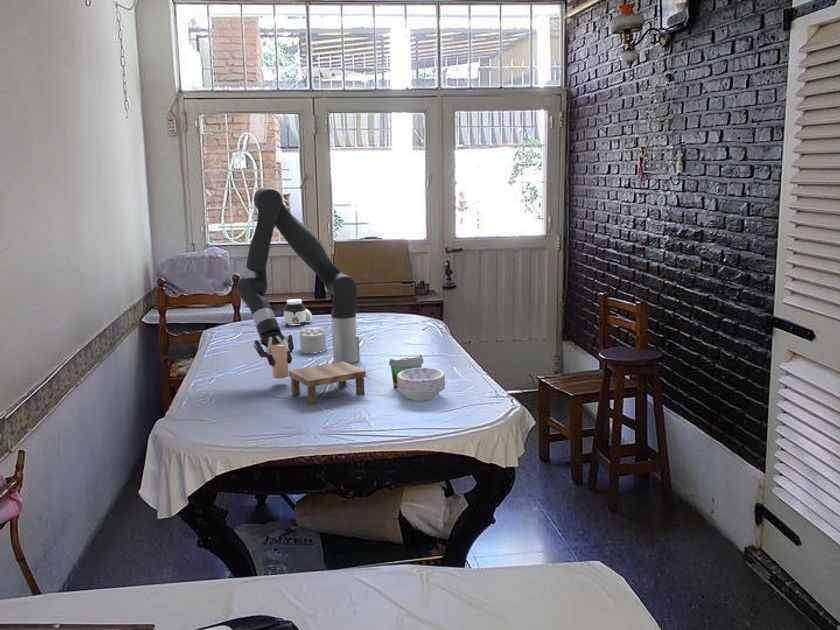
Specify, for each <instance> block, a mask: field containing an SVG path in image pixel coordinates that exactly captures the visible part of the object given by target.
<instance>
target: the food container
mask: <svg viewBox="0 0 840 630" xmlns="http://www.w3.org/2000/svg"><path fill="white" fill-rule="evenodd" d="M424 363H425V361H424V358H423V355H422V354H419V356H417V357H404V358H402V359H401V358H400V359H393V358H389V363H388V366H390V370H391V377H392V385H393V388H394V389H397V390H398V383H397V375H398V373H399V372H401V371H403V370H407V369H412V368H423V367H422V366H423V364H424Z"/></svg>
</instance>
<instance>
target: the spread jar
mask: <svg viewBox="0 0 840 630" xmlns="http://www.w3.org/2000/svg"><path fill="white" fill-rule="evenodd" d="M302 301H303V300H302V299H300V298H294V299H287V300H286V305H285V307H284V309H283V321H284V322H285V324H286V325H287V324H303V323H304V324H305V323H306V322H305V321H310V322H311V321H312V320H313V314H312V312H311V311H310V310H309V309H307V308H306V306H305V305H304V304H303V302H302ZM304 324H303V325H304Z"/></svg>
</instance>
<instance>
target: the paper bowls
mask: <svg viewBox="0 0 840 630" xmlns="http://www.w3.org/2000/svg"><path fill="white" fill-rule="evenodd" d="M445 375H446V374H445V372H444V371H443V370H441V369H437V368H433V367H421V368H412V369H407V370H403V371H401V372H399V373H398V375H397V383H398V389H397V391H398V392H399V393H402V394H404V397H405V398H406V399H408V400H409V401H414V402H427V401H432V400H434V399H437V397H438V396H439V394H440V393H441V392H442V391H443V390H445V388H446V376H445Z"/></svg>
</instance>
